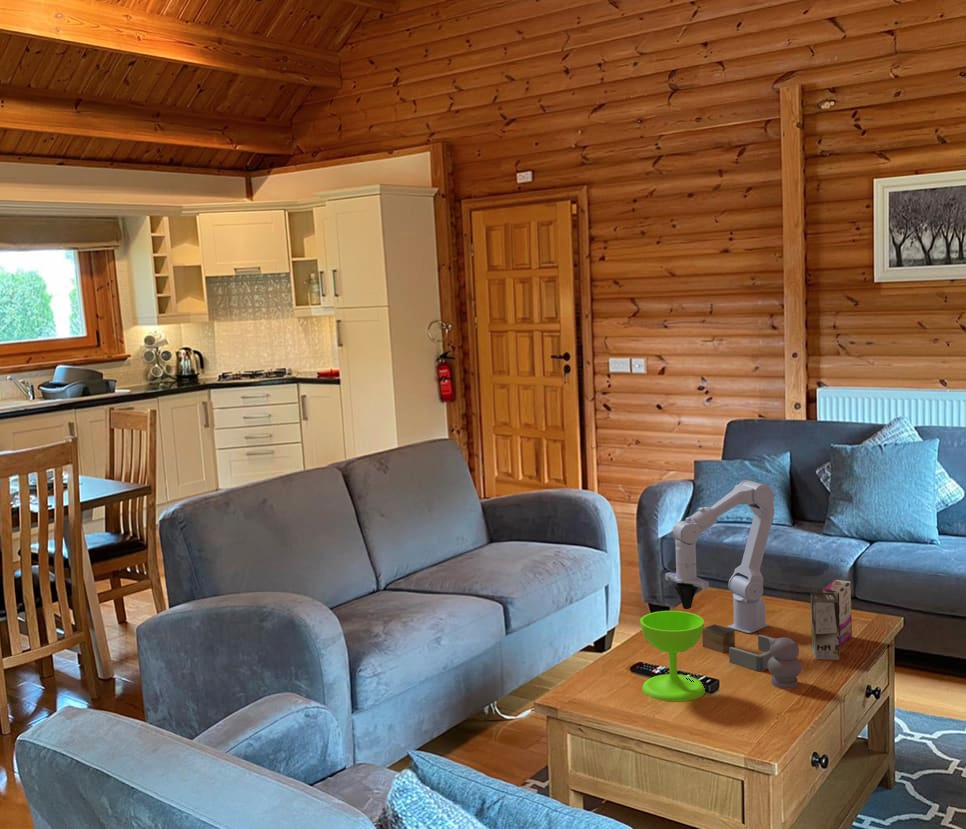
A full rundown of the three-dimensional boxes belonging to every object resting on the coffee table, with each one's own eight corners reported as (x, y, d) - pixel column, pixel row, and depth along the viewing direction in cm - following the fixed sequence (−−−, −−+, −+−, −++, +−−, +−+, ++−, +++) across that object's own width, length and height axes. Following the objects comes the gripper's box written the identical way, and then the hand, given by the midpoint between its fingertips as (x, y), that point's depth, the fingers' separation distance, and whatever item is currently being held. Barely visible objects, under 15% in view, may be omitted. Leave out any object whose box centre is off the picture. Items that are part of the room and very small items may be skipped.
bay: (760, 648, 272) (760, 634, 272) (791, 657, 265) (791, 643, 264) (729, 662, 263) (728, 647, 263) (760, 671, 256) (760, 657, 255)
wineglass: (630, 683, 252) (628, 616, 250) (683, 672, 258) (681, 607, 256) (663, 706, 237) (660, 635, 235) (718, 694, 243) (716, 624, 241)
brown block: (714, 642, 279) (714, 624, 279) (734, 648, 274) (734, 629, 273) (702, 647, 276) (702, 628, 275) (722, 653, 270) (722, 634, 270)
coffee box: (840, 660, 261) (839, 602, 259) (815, 659, 262) (814, 602, 260) (835, 648, 270) (834, 592, 268) (810, 647, 271) (810, 591, 269)
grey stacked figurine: (805, 680, 248) (805, 635, 247) (798, 692, 242) (798, 645, 240) (772, 675, 253) (771, 631, 251) (764, 686, 246) (763, 641, 245)
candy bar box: (834, 633, 281) (834, 578, 279) (852, 636, 278) (852, 581, 276) (822, 645, 272) (821, 589, 270) (840, 648, 269) (839, 591, 267)
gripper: (657, 561, 284) (658, 606, 286) (697, 570, 273) (698, 616, 274) (673, 556, 288) (674, 600, 290) (712, 565, 277) (713, 611, 279)
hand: (687, 608), depth 282 cm, fingers closed
